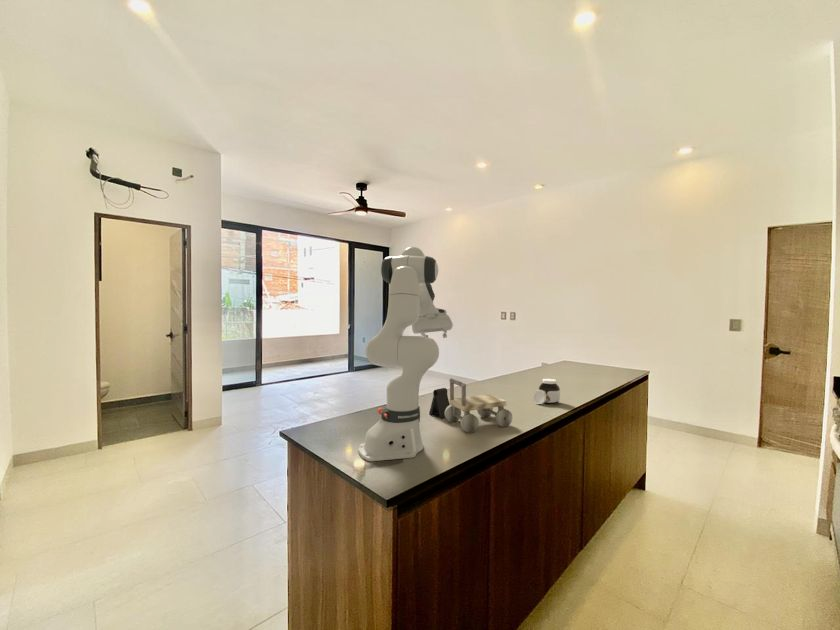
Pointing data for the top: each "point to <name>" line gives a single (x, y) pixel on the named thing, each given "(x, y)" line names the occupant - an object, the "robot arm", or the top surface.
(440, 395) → the door stopper
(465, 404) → the wheeled trolley
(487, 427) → the top surface
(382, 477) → the top surface
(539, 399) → the spread jar
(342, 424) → the top surface
